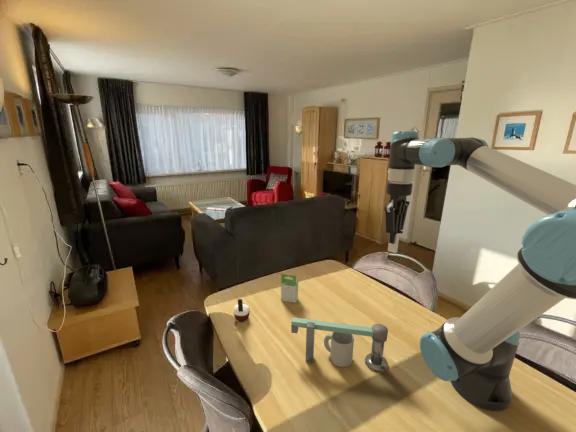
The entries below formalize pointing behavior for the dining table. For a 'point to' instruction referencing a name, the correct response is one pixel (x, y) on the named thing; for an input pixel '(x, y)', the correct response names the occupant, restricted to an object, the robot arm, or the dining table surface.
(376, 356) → the grey flanged post
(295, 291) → the ink box
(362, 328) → the bar
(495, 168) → the robot arm
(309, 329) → the post
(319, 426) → the dining table surface
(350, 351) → the cup
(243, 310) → the cocoa
